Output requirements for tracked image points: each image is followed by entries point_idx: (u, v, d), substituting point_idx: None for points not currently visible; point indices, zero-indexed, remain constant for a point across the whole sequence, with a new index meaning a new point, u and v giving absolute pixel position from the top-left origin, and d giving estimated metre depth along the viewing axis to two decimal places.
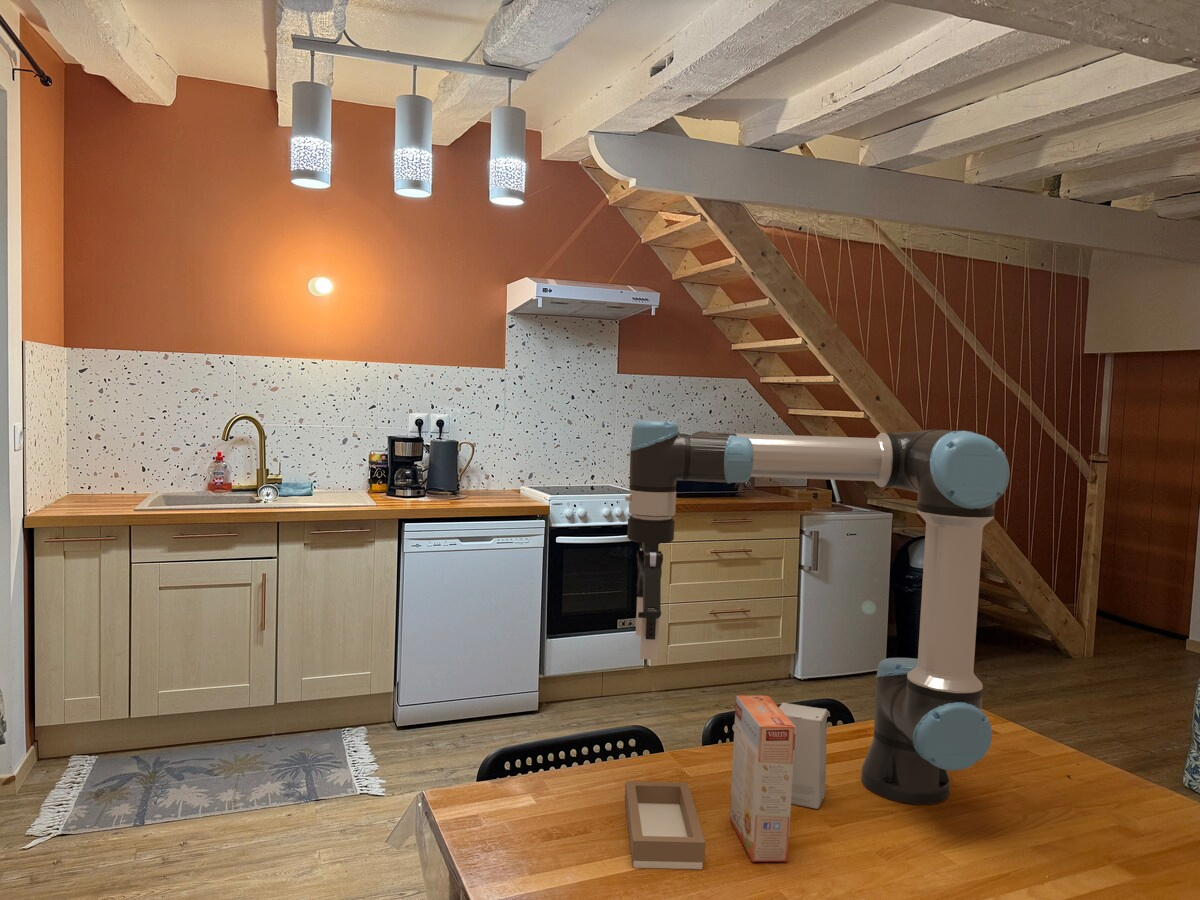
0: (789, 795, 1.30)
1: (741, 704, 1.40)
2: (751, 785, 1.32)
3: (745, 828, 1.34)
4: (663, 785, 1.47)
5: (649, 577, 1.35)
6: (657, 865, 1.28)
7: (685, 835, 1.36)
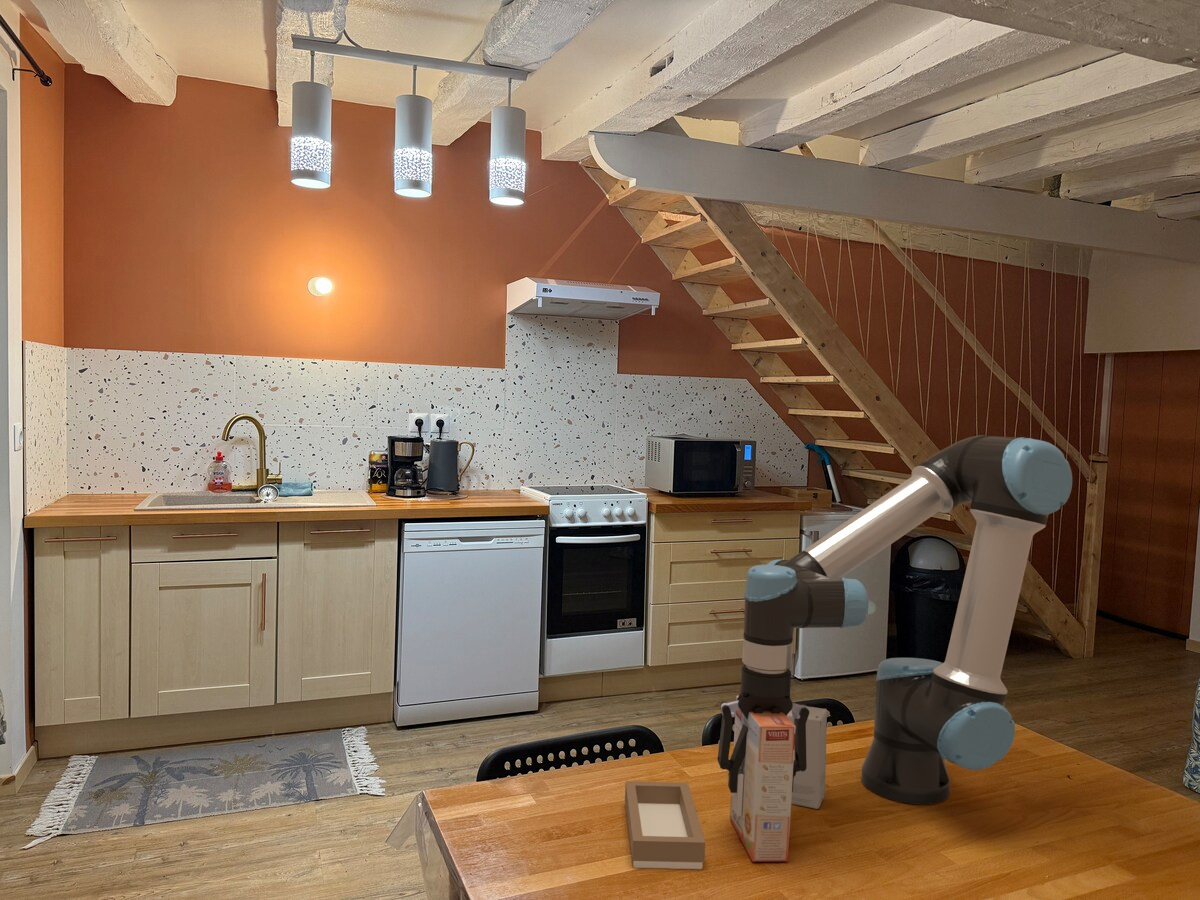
0: (789, 795, 1.30)
1: None
2: (752, 785, 1.32)
3: (745, 827, 1.34)
4: (663, 785, 1.47)
5: (722, 727, 1.37)
6: (657, 865, 1.28)
7: (685, 835, 1.36)
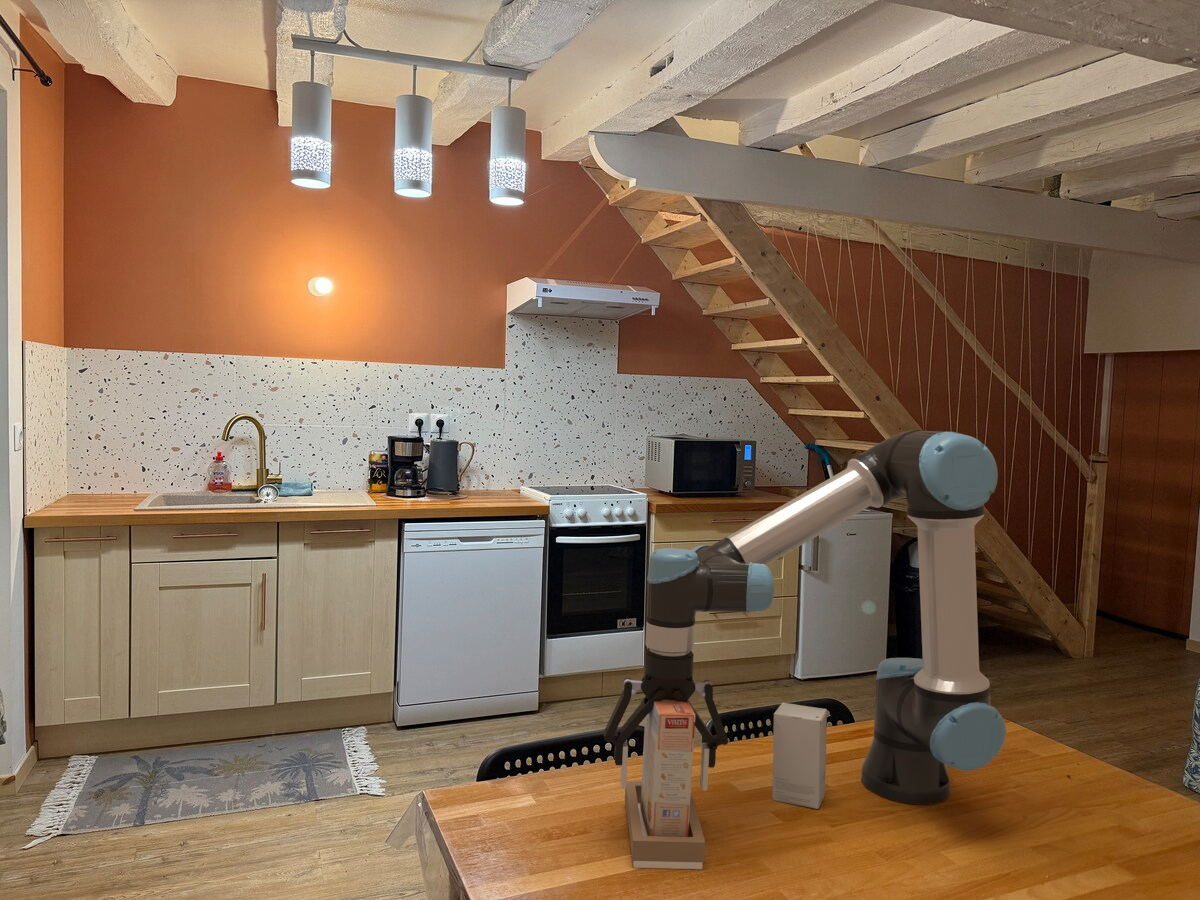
0: (689, 783, 1.31)
1: None
2: (652, 772, 1.32)
3: (648, 815, 1.35)
4: None
5: (618, 701, 1.37)
6: (657, 865, 1.28)
7: None
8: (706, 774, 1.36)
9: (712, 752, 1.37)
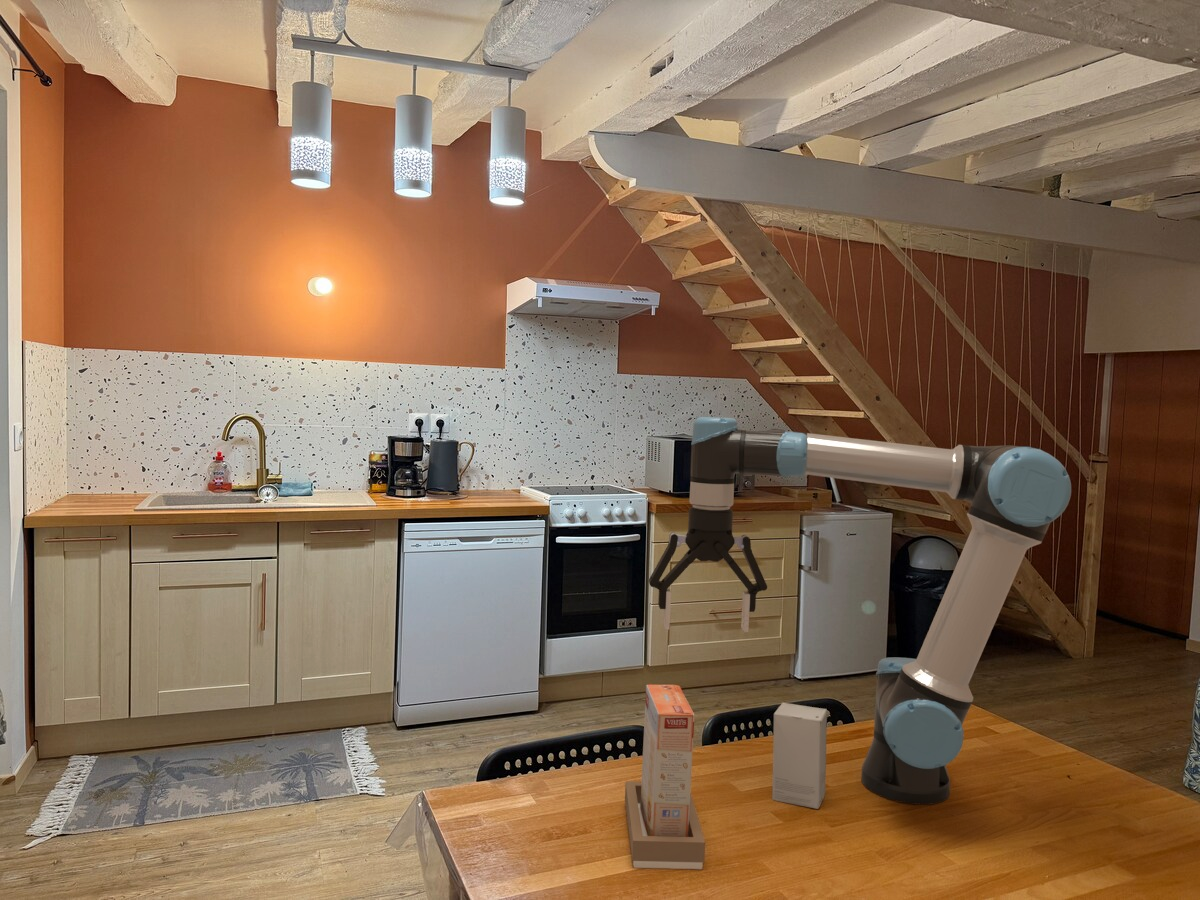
0: (688, 783, 1.31)
1: (648, 692, 1.40)
2: (652, 772, 1.32)
3: (648, 815, 1.35)
4: None
5: (664, 553, 1.52)
6: (657, 865, 1.28)
7: None
8: (747, 617, 1.52)
9: (752, 598, 1.52)
